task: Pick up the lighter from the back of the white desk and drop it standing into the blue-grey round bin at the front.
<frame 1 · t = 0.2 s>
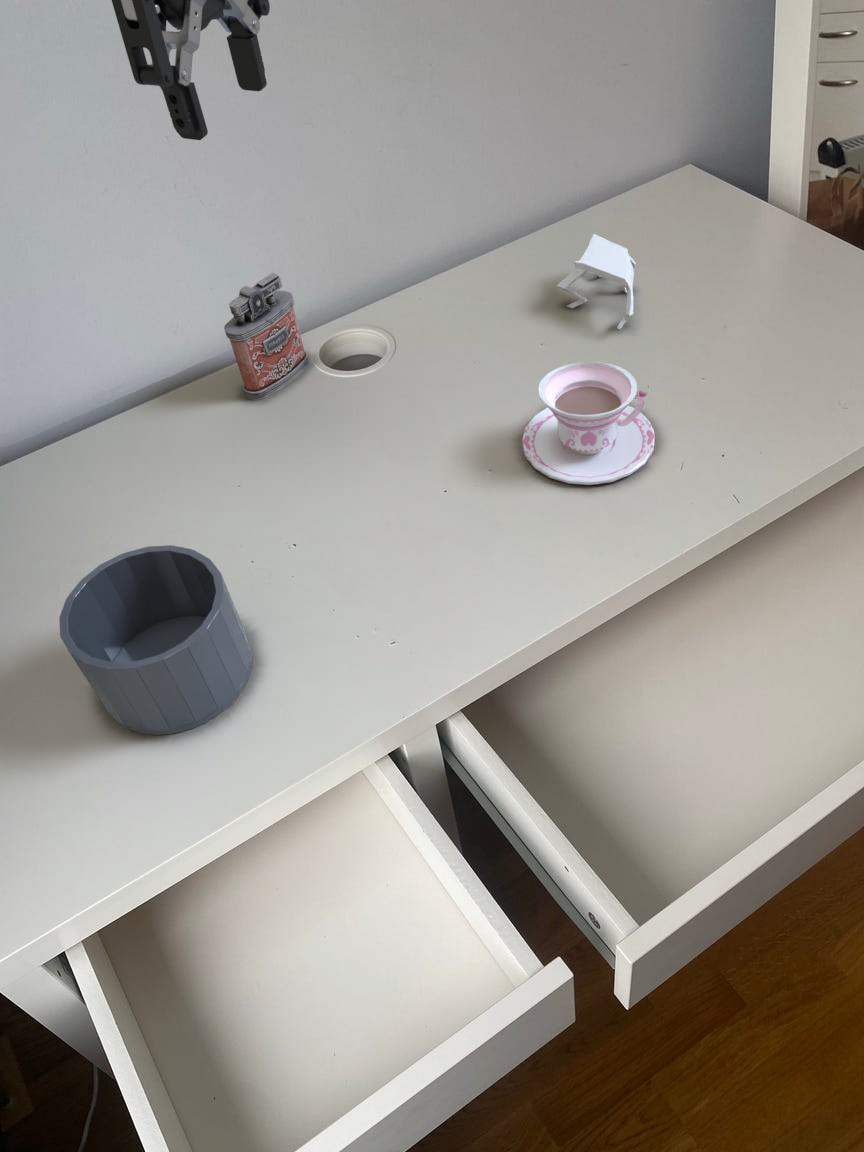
hand: (224, 112, 74), 28 cm above the table, tool pointing down, fingers open, 8 cm apart
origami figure: (606, 307, 102), on the table
blue-grey round bin: (177, 672, 75), on the table
lighter: (278, 379, 99), on the table
teacup: (588, 444, 89), on the table
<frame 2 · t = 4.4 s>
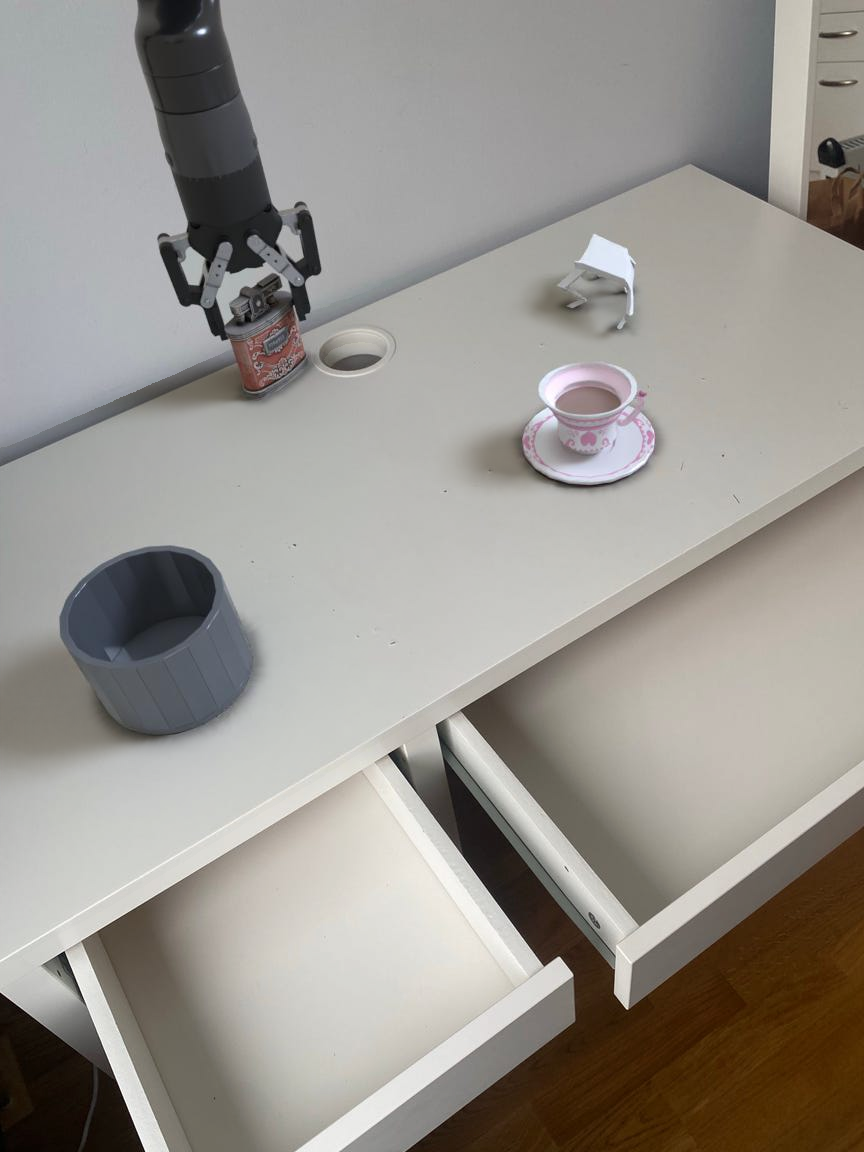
hand: (262, 326, 94), 6 cm above the table, tool pointing down, fingers closed on lighter, 7 cm apart
lighter: (277, 379, 99), on the table, touching gripper
everything else where it was.
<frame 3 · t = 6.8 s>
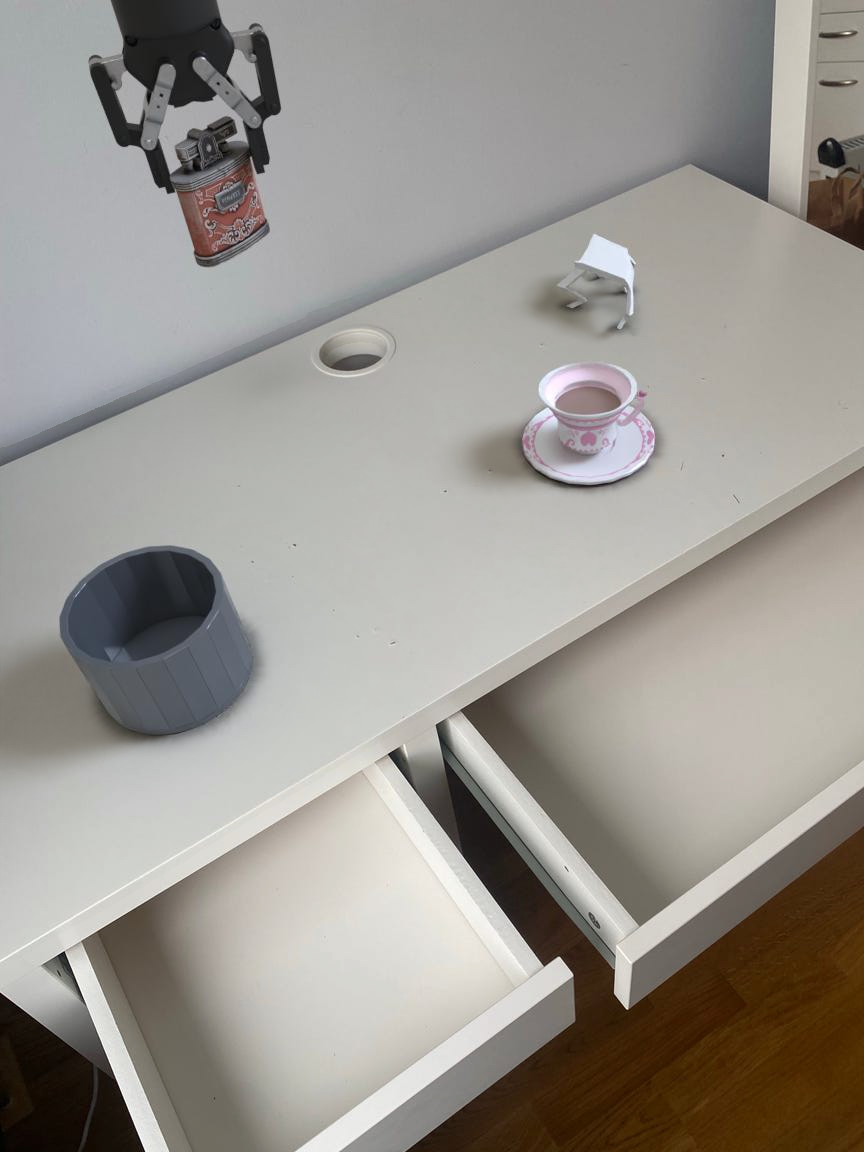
hand: (214, 179, 82), 21 cm above the table, tool pointing down, fingers closed on lighter, 7 cm apart
lighter: (234, 247, 87), point 15 cm above the table, touching gripper
everything else where it was.
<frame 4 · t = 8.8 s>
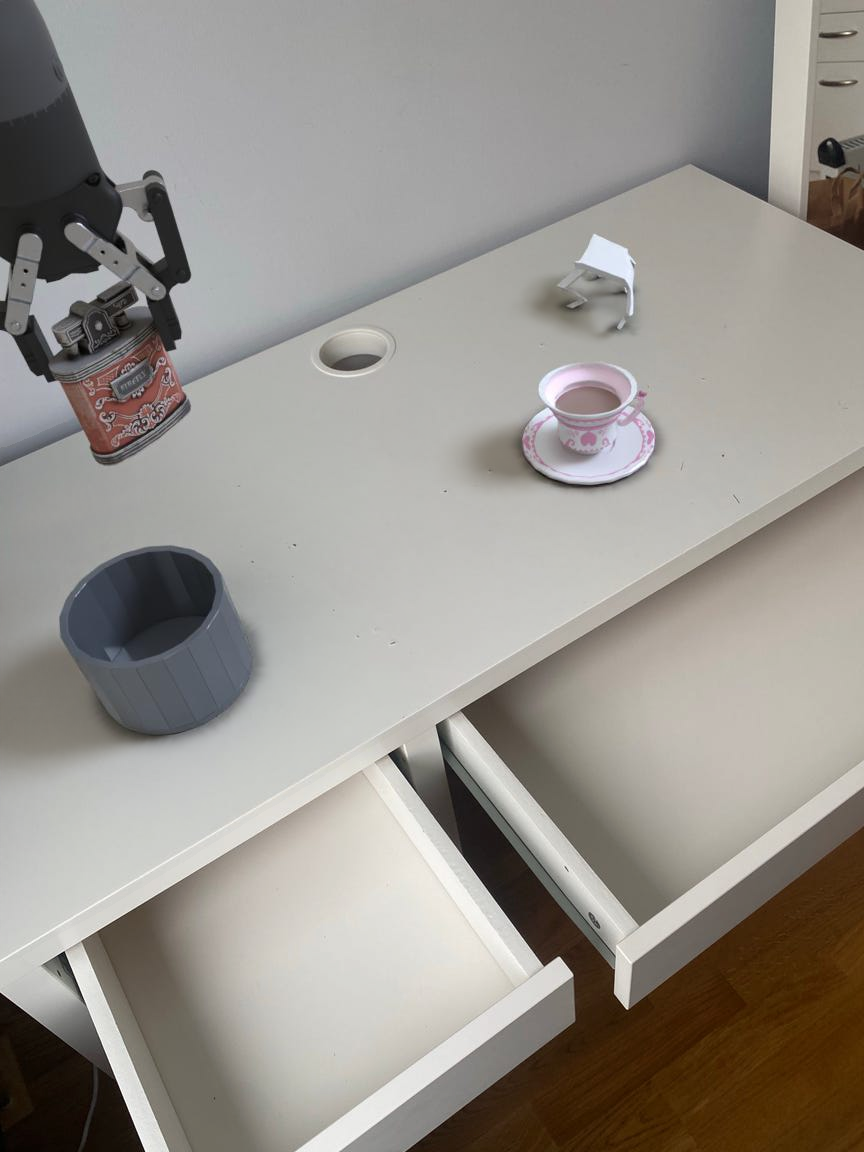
hand: (111, 359, 64), 22 cm above the table, tool pointing down, fingers closed on lighter, 7 cm apart
lighter: (144, 433, 68), point 16 cm above the table, touching gripper
everything else where it was.
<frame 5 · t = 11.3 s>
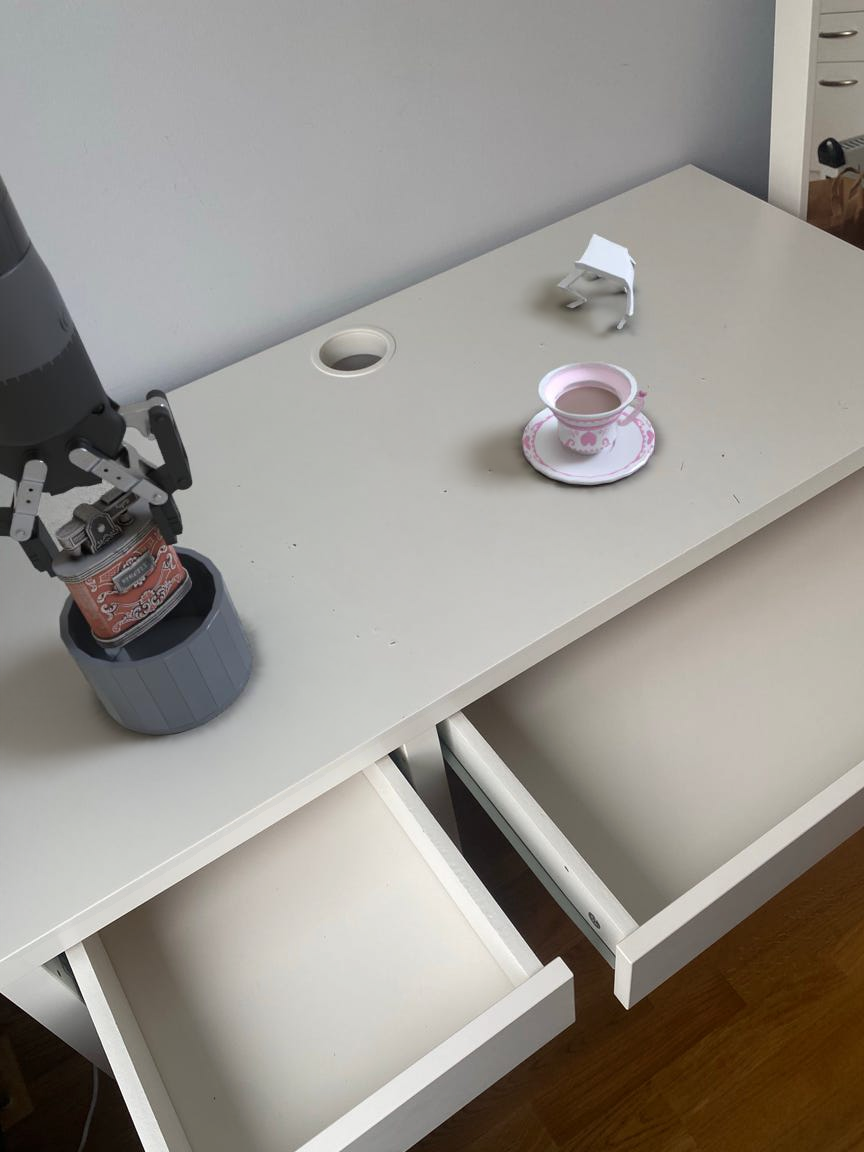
hand: (114, 552, 65), 13 cm above the table, tool pointing down, fingers closed on lighter, 7 cm apart
lighter: (145, 611, 70), point 7 cm above the table, touching gripper
everything else where it was.
when the fingers open (7 cm above the table, at t = 13.9 s): lighter stays where it is, resting on blue-grey round bin.
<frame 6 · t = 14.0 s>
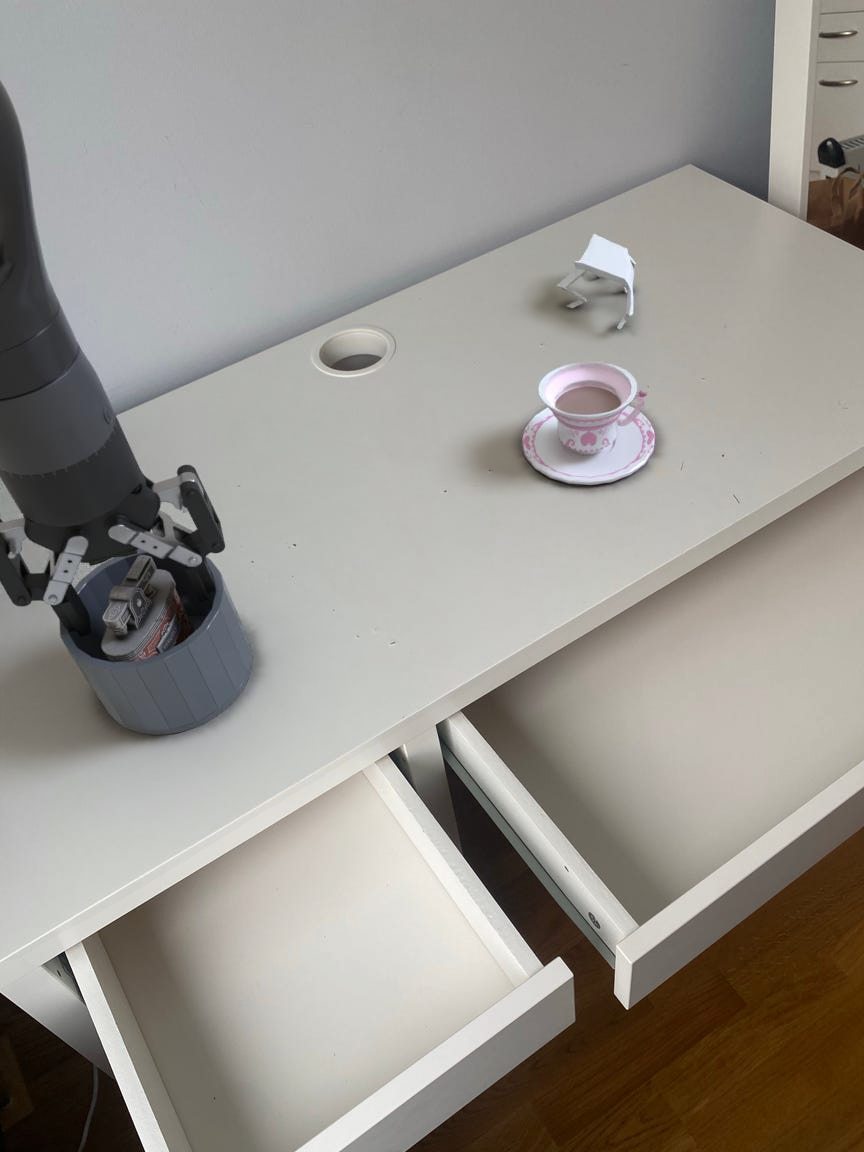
hand: (144, 610, 70), 7 cm above the table, tool pointing down, fingers open, 8 cm apart
lighter: (173, 676, 74), resting on blue-grey round bin
everything else where it was.
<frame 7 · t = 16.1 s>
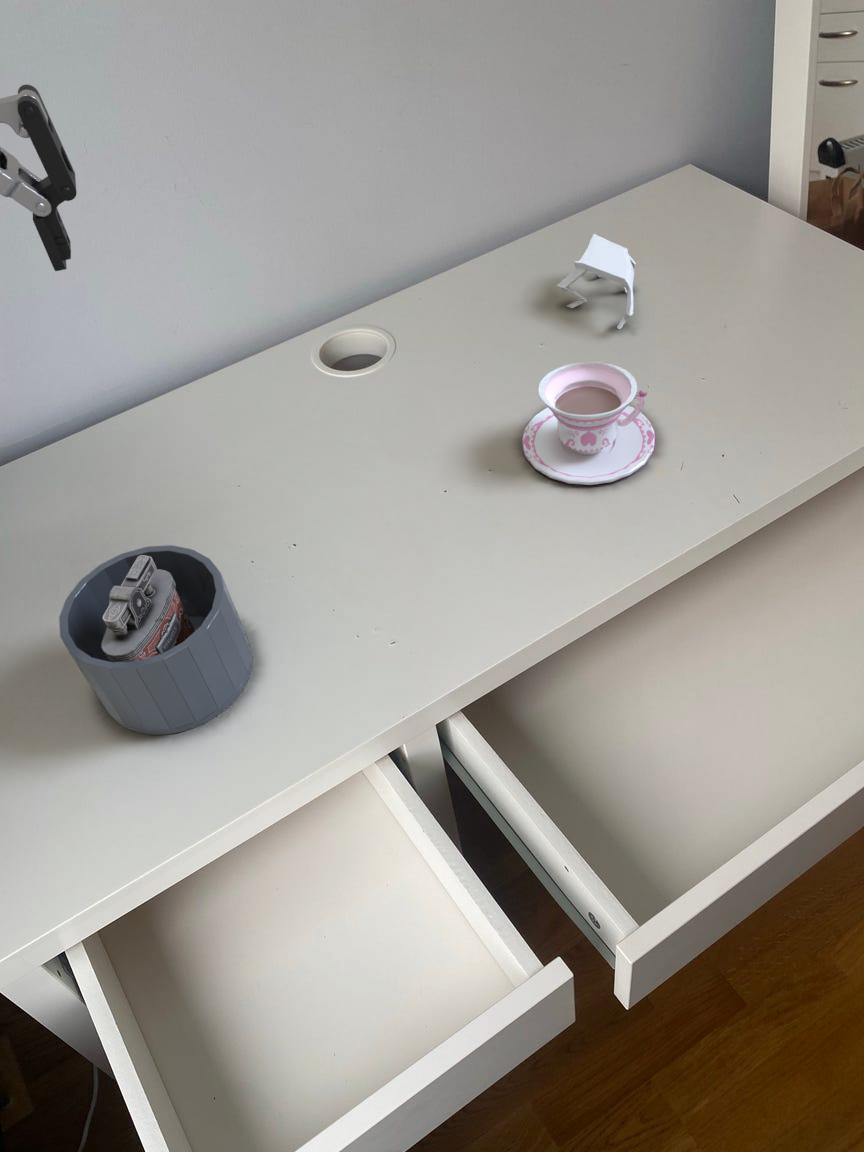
nothing on the table moved.
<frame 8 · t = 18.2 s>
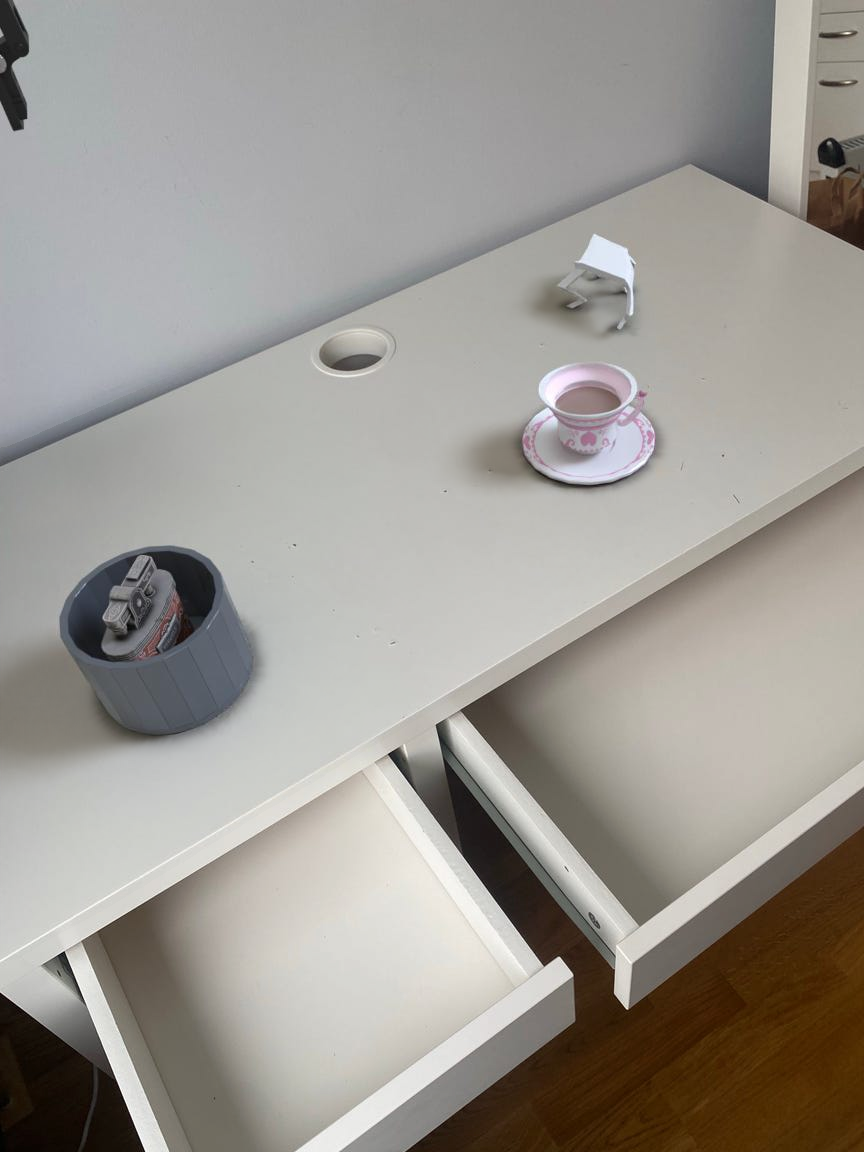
nothing on the table moved.
at the end: lighter inside the target area in the blue-grey round bin (0.8 cm from its centre), point 0.4 cm above the blue-grey round bin's base; the gripper is holding nothing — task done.
